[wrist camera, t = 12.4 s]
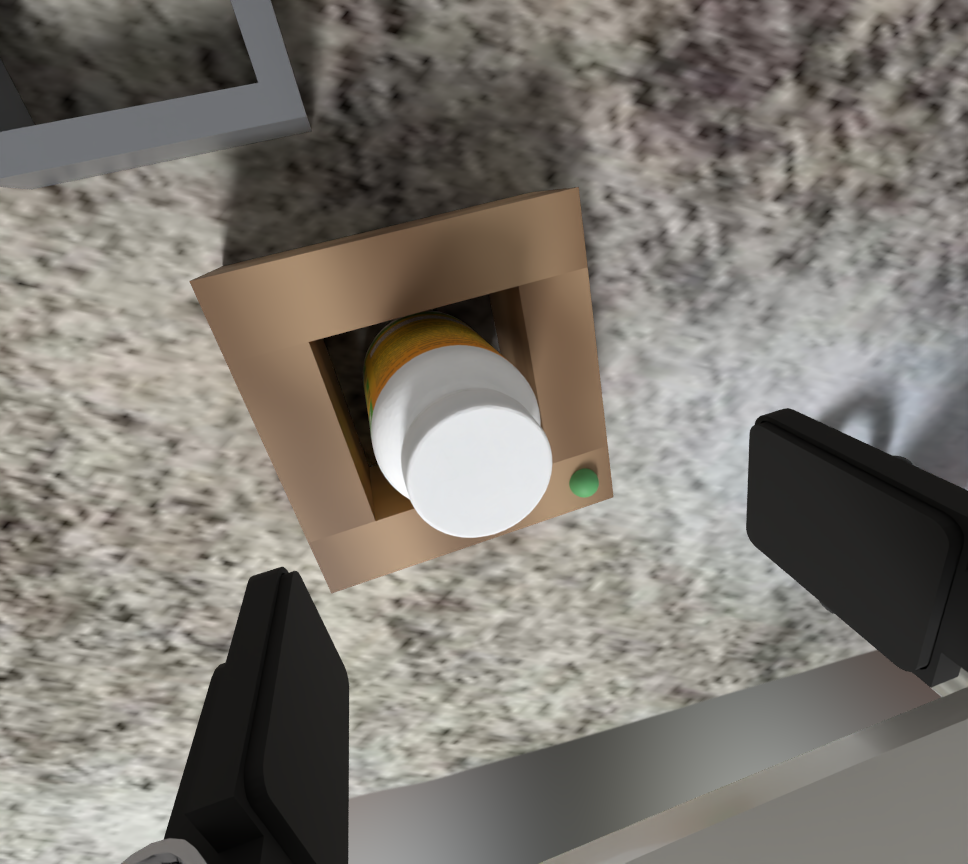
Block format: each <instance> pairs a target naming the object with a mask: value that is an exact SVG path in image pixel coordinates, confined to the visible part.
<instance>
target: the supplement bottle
mask: <svg viewBox="0 0 968 864" xmlns="http://www.w3.org/2000/svg"><path fill="white" fill-rule="evenodd" d="M363 386H364V391H365V397H366V404H367V410H368V417H369V423H370V432H371V440H372V444H373V449H374V453H375V457H376V460H377V462H378V465H379V467H380V469H381V471H382V472H383V474H384V476H385V477H386V479H387V480H388V481H389V482H390V484H391V485H392V486H393V487H394V488H395V489H396V490H397V491H398V492H400V493H401V494H402V495H404V496H405V497H407V498H408V499H410V501H411V503H412V505H413V507H414V508H415V510H416V511H417V513H418V514H419V515H420V516H421V517H422V519H423V520H424V521H426V522H427V523H428V524H429V525H430V526H432V527H434V528H435V529H437V530H439V531H441V532H443V533H446V534H449V535H452V536H457V537H466V538H475V537H483V536H489V535H493V534H496V533H499V532H501V531H504V530H506V529H508V528H510V527H512V526H514V525H515V524H517V523H518V522H520V521H521V520H522V519H524V518H525V517H526V516H527V515H528V514H529V513H530V512H531V511H532V510H533V509H534V508H535V506H536V505H537V504H538V503H539V501H540V500H541V498H542V496H543V495H544V493H545V491H546V489H547V486H548V484H549V481H550V477H551V472H552V453H551V448H550V444H549V441H548V438H547V436H546V434H545V432H544V431H543V429H542V428H541V426H540V425H541V420H540V412H539V407H538V403H537V400H536V397H535V394H534V392H533V390H532V388H531V387H530V385H529V383H528V382H527V380H526V379H525V378H524V376H523V375H522V374H521V373H520V372H519V371H518V370H517V368H516V367H515V366H514V365H513V364H511V363H510V362H509V361H508V360H507V359H506V358H505V357H504V356H502V355H501V354H500V353H499V352H498V351H497V350H495V349H494V348H493V347H492V346H491V345H490V344H489V343H488V342H486V341H485V340H484V339H483V338H482V337H481V336H480V335H479V334H477V333H476V332H475V331H474V330H473V329H472V328H471V327H469V326H468V325H467V324H465V323H464V322H462V321H461V320H459V319H457V318H455V317H453V316H451V315H448V314H445V313H442V312H436V311H423V312H419V313H415V314H411V315H408V316H404V317H400V318H397V319H395V320H393V321H392V322H390V323H389V324H387V325H386V326H385V327H384V328H383V329H382V330H381V331H380V332H379V333H378V334H377V335H376V337H375V338H374V340H373V341H372V343H371V344H370V346H369V348H368V351H367V353H366V356H365V360H364V365H363Z"/></svg>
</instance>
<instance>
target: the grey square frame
mask: <svg viewBox="0 0 968 864" xmlns="http://www.w3.org/2000/svg"><path fill="white" fill-rule="evenodd" d="M231 3H232V6H233V9H234V12H235V15H236V18H237V21H238V24H239V27H240V30H241V33H242V36H243V39H244V42H245V45H246V48H247V51H248V54H249V56H250V59H251V62H252V65H253V68H254V71H255V74H256V77H257V80H258V83H254V84H249V85H243V86H238V87H233V88H228V89H222V90H217V91H212V92H207V93H201V94H196V95H191V96H186V97H181V98H175V99H170V100H165V101H160V102H154V103H149V104H144V105H139V106H133V107H128V108H123V109H118V110H112V111H107V112H102V113H97V114H91V115H86V116H81V117H76V118H70V119H65V120H60V121H55V122H50V123H44V124H39V125H35V124H34V122H33V120H32V118H31V117H30V115H29V113H28V111H27V109H26V107H25V105H24V103H23V101H22V99H21V97H20V95H19V93H18V91H17V90H16V88H15V86H14V84H13V82H12V80H11V78H10V76H9V74H8V72H7V70H6V68H5V66H4V64H3V63H2V61H1V59H0V187H8V188H21V189H35V188H40V187H45V186H50V185H55V184H59V183H64V182H69V181H74V180H79V179H84V178H88V177H93V176H98V175H103V174H108V173H112V172H117V171H122V170H127V169H132V168H137V167H141V166H146V165H151V164H156V163H161V162H165V161H170V160H175V159H180V158H185V157H190V156H194V155H199V154H204V153H209V152H214V151H218V150H223V149H228V148H233V147H238V146H243V145H247V144H252V143H257V142H262V141H267V140H271V139H276V138H281V137H286V136H291V135H295V134H300V133H305V132H310V131H311V128H310V124H309V121H308V118H307V115H306V111H305V108H304V105H303V102H302V99H301V95H300V92H299V89H298V86H297V83H296V79H295V76H294V73H293V70H292V66H291V63H290V60H289V57H288V54H287V50H286V47H285V44H284V41H283V37H282V34H281V31H280V28H279V25H278V21H277V18H276V15H275V12H274V8H273V5H272V2H271V0H231Z"/></svg>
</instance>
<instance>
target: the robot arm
mask: <svg viewBox="0 0 968 864" xmlns="http://www.w3.org/2000/svg"><path fill="white" fill-rule="evenodd" d="M746 530H747V534H748V537H749V539H750V541H751V542H752V543H753V544H754V546H755V547H757V548H758V549H759V550H760V551H761V552H763V553H764V554H765V555H766V556H767V557H768V558H770V559H771V560H772V561H773V562H774V563H776V564H777V565H778V566H779V567H780V568H781V569H783V570H784V571H785V572H786V573H787V574H789V575H790V576H791V577H792V578H793V579H794V580H796V581H797V582H798V583H799V584H800V585H802V586H803V587H804V588H805V589H806V590H807V591H809V592H810V593H811V594H812V595H813V596H815V597H816V598H817V599H818V600H819V601H820V602H822V603H823V604H824V605H825V606H826V607H828V608H829V609H830V610H831V611H832V612H833V613H835V614H836V615H837V616H838V617H839V618H841V619H842V620H843V621H844V622H845V623H846V624H848V625H849V626H850V627H851V628H852V629H854V630H855V631H856V632H857V633H858V634H859V635H861V636H862V637H863V638H864V639H865V640H867V641H868V642H869V643H870V644H871V645H872V646H874V647H875V648H876V649H877V650H878V651H880V652H881V653H882V654H883V655H884V656H886V657H887V658H888V659H889V660H890V661H891V662H893V663H894V664H895V665H896V666H898V667H899V668H901V669H903V670H905V671H909V672H913V673H914V674H915V675H916V676H917V677H919V678H920V679H921V680H922V681H924V682H925V683H926V684H927V685H928V686H929V687H931V688H932V687H934V686H936V685H939V684H941V683H944V682H946V681H949V680H951V679H954V678H956V677H958V676H959V672H960V669H961V668H962V669H964V670H965V671H966V672H968V491H967V490H965V489H963V488H961V487H959V486H956V485H954V484H952V483H950V482H948V481H946V480H944V479H941V478H939V477H937V476H935V475H933V474H931V473H928V472H926V471H924V470H922V469H920V468H918V467H916V466H913V465H911V464H909V463H907V462H905V461H903V460H900V459H898V458H896V457H894V456H892V455H890V454H887V453H885V452H883V451H881V450H879V449H877V448H875V447H872V446H870V445H868V444H866V443H864V442H862V441H859V440H857V439H855V438H853V437H851V436H849V435H847V434H844V433H842V432H840V431H838V430H836V429H834V428H831V427H829V426H827V425H825V424H823V423H821V422H818V421H816V420H814V419H812V418H810V417H808V416H806V415H803V414H801V413H799V412H797V411H795V410H792V409H789V408H787V409H782V410H778V411H775V412H772V413H769V414H766V415H762V416H760V417H759V418H757V420H756V422H755V425H754V426H753V427H752V428H751V430H750V439H749V467H748V494H747V522H746ZM348 802H349V681H348V676H347V672H346V669H345V666H344V664H343V662H342V660H341V658H340V656H339V654H338V652H337V650H336V648H335V646H334V644H333V642H332V640H331V638H330V635H329V633H328V631H327V629H326V627H325V625H324V623H323V621H322V619H321V617H320V615H319V613H318V611H317V609H316V607H315V605H314V603H313V601H312V598H311V596H310V594H309V592H308V590H307V588H306V586H305V584H304V582H303V580H302V578H301V576H300V574H299V573H298V572H297V571H293V572H290V573H288V571H287V570H286V569H285V568H284V567H280V568H276V569H273V570H270V571H267V572H264V573H260V574H257V575H254V576H252V577H250V579H249V581H248V584H247V587H246V591H245V595H244V598H243V602H242V606H241V609H240V613H239V617H238V620H237V624H236V627H235V631H234V635H233V638H232V642H231V646H230V649H229V653H228V656H227V660H226V663H223V664H220V665H219V666H218V667H217V668H216V669H215V671H214V674H213V676H212V678H211V682H210V685H209V688H208V692H207V695H206V698H205V702H204V705H203V709H202V712H201V715H200V719H199V722H198V725H197V729H196V732H195V736H194V739H193V742H192V746H191V749H190V752H189V756H188V759H187V763H186V766H185V769H184V773H183V776H182V779H181V783H180V786H179V789H178V793H177V796H176V800H175V803H174V806H173V810H172V813H171V816H170V820H169V823H168V827H167V830H166V833H165V837H164V840H161V841H158V842H154V843H151V844H149V845H148V846H146V847H144V848H143V849H141V850H139V851H137V852H136V853H134V854H132V855H131V856H130V857H128V858H127V859H126V860H125V861H124V862H122V863H121V864H348ZM539 864H968V687H966V688H964V689H961V690H959V691H956V692H954V693H951V694H949V695H947V696H944V697H942V698H939V699H937V700H934V701H932V702H929V703H927V704H924V705H922V706H919V707H917V708H914V709H912V710H910V711H907V712H905V713H902V714H900V715H897V716H895V717H892V718H890V719H887V720H885V721H882V722H880V723H877V724H875V725H873V726H870V727H867V728H865V729H863V730H860V731H858V732H855V733H853V734H850V735H848V736H846V737H843V738H841V739H838V740H836V741H833V742H831V743H829V744H826V745H824V746H821V747H819V748H816V749H814V750H811V751H809V752H806V753H804V754H802V755H799V756H797V757H794V758H792V759H790V760H787V761H785V762H782V763H780V764H777V765H775V766H772V767H770V768H768V769H765V770H763V771H760V772H758V773H755V774H753V775H751V776H748V777H746V778H743V779H741V780H738V781H736V782H734V783H731V784H729V785H726V786H724V787H722V788H719V789H717V790H714V791H712V792H709V793H707V794H704V795H702V796H700V797H697V798H695V799H693V800H690V801H687V802H685V803H683V804H680V805H678V806H675V807H673V808H671V809H668V810H666V811H663V812H661V813H659V814H656V815H654V816H651V817H649V818H647V819H644V820H642V821H639V822H637V823H635V824H633V825H630V826H628V827H626V828H623V829H620V830H618V831H616V832H613V833H611V834H608V835H606V836H604V837H601V838H599V839H596V840H594V841H592V842H589V843H587V844H584V845H582V846H580V847H577V848H575V849H573V850H570V851H568V852H565V853H563V854H561V855H558V856H556V857H553V858H551V859H549V860H546V861H544V862H542V863H539Z"/></svg>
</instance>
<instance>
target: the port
mask: <svg viewBox="0 0 968 864" xmlns="http://www.w3.org/2000/svg"><path fill="white" fill-rule="evenodd" d="M190 284H191V286H192V288H193V290H194V292H195V295H196V297H197V299H198V301H199V303H200V306H201V308H202V310H203V312H204V314H205V317H206V319H207V321H208V323H209V325H210V328H211V330H212V332H213V334H214V336H215V339H216V341H217V343H218V345H219V347H220V350H221V352H222V354H223V356H224V358H225V360H226V363H227V365H228V367H229V369H230V371H231V374H232V376H233V378H234V380H235V382H236V385H237V387H238V389H239V391H240V393H241V396H242V398H243V400H244V402H245V404H246V407H247V409H248V411H249V413H250V415H251V418H252V420H253V422H254V424H255V426H256V429H257V431H258V433H259V435H260V437H261V440H262V442H263V444H264V446H265V448H266V450H267V453H268V455H269V457H270V459H271V461H272V464H273V466H274V468H275V470H276V472H277V475H278V477H279V479H280V481H281V483H282V486H283V488H284V490H285V492H286V494H287V497H288V499H289V501H290V503H291V505H292V508H293V510H294V512H295V514H296V516H297V519H298V521H299V523H300V525H301V527H302V530H303V532H304V534H305V536H306V538H307V540H308V543H309V545H310V547H311V549H312V551H313V554H314V556H315V558H316V560H317V562H318V565H319V567H320V569H321V571H322V573H323V576H324V578H325V580H326V582H327V584H328V587H329V589H330V591H331V593H334V592H337V591H340V590H343V589H346V588H349V587H352V586H355V585H357V584H360V583H363V582H366V581H369V580H372V579H375V578H378V577H381V576H384V575H387V574H390V573H393V572H396V571H398V570H401V569H404V568H407V567H410V566H413V565H416V564H419V563H422V562H425V561H428V560H431V559H434V558H437V557H439V556H442V555H445V554H448V553H451V552H454V551H457V550H460V549H463V548H466V547H469V546H472V545H475V544H478V543H480V542H483V541H486V540H489V539H492V538H495V537H498V536H501V535H504V534H507V533H510V532H513V531H516V530H519V529H521V528H524V527H527V526H530V525H533V524H536V523H539V522H542V521H545V520H548V519H551V518H554V517H557V516H560V515H562V514H565V513H568V512H571V511H574V510H577V509H580V508H583V507H586V506H589V505H592V504H595V503H598V502H601V501H603V500H606V499H609V498H612V497H613V489H612V480H611V471H610V462H609V453H608V445H607V436H606V427H605V418H604V409H603V400H602V391H601V382H600V374H599V365H598V356H597V347H596V338H595V329H594V320H593V311H592V302H591V294H590V285H589V276H588V267H587V258H586V249H585V240H584V231H583V223H582V214H581V205H580V196H579V187H575V188H566V189H557V190H548V191H539V192H530V193H526V194H522V195H518V196H514V197H510V198H505V199H501V200H497V201H493V202H489V203H485V204H480V205H476V206H472V207H468V208H464V209H460V210H455V211H451V212H447V213H443V214H439V215H435V216H430V217H426V218H422V219H418V220H414V221H410V222H405V223H401V224H397V225H393V226H389V227H385V228H380V229H376V230H372V231H368V232H364V233H360V234H355V235H351V236H347V237H343V238H339V239H335V240H331V241H326V242H322V243H318V244H314V245H310V246H306V247H301V248H297V249H293V250H289V251H285V252H281V253H276V254H272V255H268V256H264V257H260V258H256V259H251V260H247V261H243V262H239V263H235V264H231V265H226V266H222V267H220V268H218V269H216V270H213V271H211V272H209V273H207V274H205V275H202V276H200V277H198V278H196V279H193V280H191V281H190ZM486 294H489V298H490V303H491V308H492V313H493V318H494V323H495V328H496V333H497V338H498V343H499V348H500V353H501V355H502V356H504V357H505V358H506V359H507V360H508V361H509V362H510V363H511V364H513V365H514V366H515V367H516V368H517V370H518V371H519V372H520V373H521V374H522V375H523V376H524V378H525V379H526V380H527V382H528V383H529V385H530V387H531V388H532V390H533V392H534V394H535V397H536V400H537V403H538V407H539V412H540V420H541V425H540V426H541V428H542V429H543V431H544V432H545V434H546V436H547V438H548V441H549V444H550V448H551V453H552V472H551V477H550V481H549V484H548V486H547V489H546V491H545V493H544V495H543V496H542V498H541V500H540V501H539V503H538V504H537V505H536V506H535V508H534V509H533V510H532V511H531V512H530V513H529V514H528V515H527V516H526V517H525V518H524V519H522V520H521V521H520V522H518V523H517V524H515V525H514V526H512V527H510V528H508V529H506V530H504V531H501V532H499V533H496V534H493V535H489V536H483V537H475V538H466V537H457V536H452V535H449V534H446V533H443V532H441V531H439V530H437V529H435V528H434V527H432V526H430V525H429V524H428V523H427V522H426V521H424V520H423V519H422V517H421V516H420V515H419V514H418V513H417V511H416V510H415V508H414V507H413V505H412V503H411V501H410V499H408V498H407V497H405V496H404V495H402V494H401V493H400V492H398V491H397V490H396V489H395V488H394V487H393V486H392V485H391V484H390V482H389V481H388V480H387V479H386V477H385V476H384V474H383V472H382V471H381V469H380V467H379V465H375V466H372V467H369V466H368V463H367V460H366V457H365V454H364V452H363V449H362V446H361V443H360V440H359V438H358V435H357V432H356V429H355V426H354V424H353V421H352V418H351V415H350V413H349V410H348V407H347V404H346V401H345V399H344V396H343V393H342V390H341V387H340V385H339V382H338V379H337V376H336V373H335V371H334V368H333V365H332V362H331V360H330V357H329V354H328V351H327V348H326V346H325V343H324V340H323V338H325V337H329V336H333V335H337V334H340V333H344V332H348V331H352V330H355V329H359V328H363V327H366V326H370V325H374V324H378V323H381V322H385V321H389V320H393V319H396V318H400V317H404V316H408V315H411V314H415V313H419V312H423V311H426V310H430V309H434V308H437V307H441V306H445V305H449V304H452V303H456V302H460V301H464V300H467V299H471V298H475V297H479V296H482V295H486Z"/></svg>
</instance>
